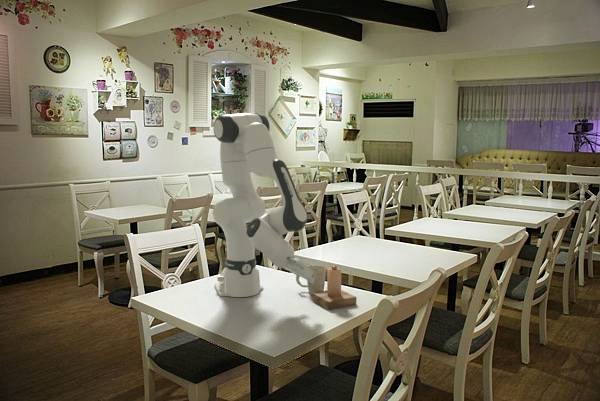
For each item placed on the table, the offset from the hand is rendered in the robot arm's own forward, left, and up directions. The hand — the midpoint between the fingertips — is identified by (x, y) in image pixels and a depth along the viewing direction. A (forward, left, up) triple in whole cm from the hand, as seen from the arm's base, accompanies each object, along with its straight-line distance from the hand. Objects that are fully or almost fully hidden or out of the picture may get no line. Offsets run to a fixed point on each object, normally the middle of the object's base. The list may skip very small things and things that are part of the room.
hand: (306, 278), depth 183 cm
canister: (0, +12, -8) cm, 15 cm away
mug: (-16, +11, -11) cm, 23 cm away
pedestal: (0, +12, -11) cm, 17 cm away
